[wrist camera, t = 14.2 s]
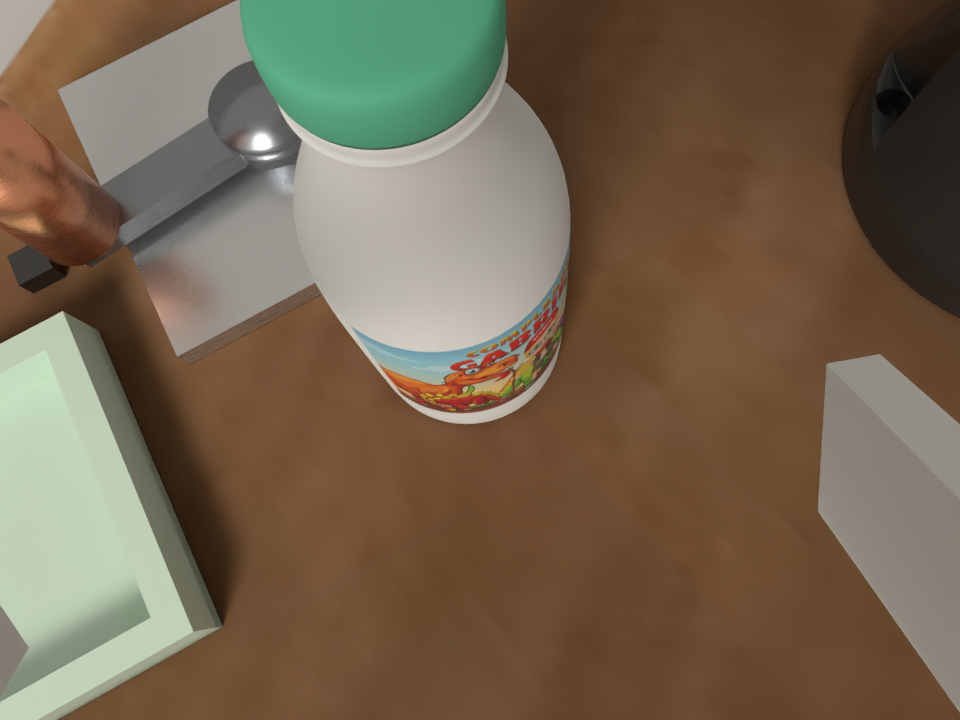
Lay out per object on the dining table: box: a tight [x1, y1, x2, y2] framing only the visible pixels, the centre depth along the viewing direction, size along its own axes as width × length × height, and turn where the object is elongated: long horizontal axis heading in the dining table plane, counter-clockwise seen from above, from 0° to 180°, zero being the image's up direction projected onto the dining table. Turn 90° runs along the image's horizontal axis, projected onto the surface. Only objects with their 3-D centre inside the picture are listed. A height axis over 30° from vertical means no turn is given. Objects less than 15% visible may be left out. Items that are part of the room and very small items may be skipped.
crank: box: [0, 60, 302, 267], centre depth 29 cm, size 13×4×8 cm, turn 125°
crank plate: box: [8, 0, 322, 364], centre depth 34 cm, size 21×15×1 cm
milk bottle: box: [240, 0, 570, 424], centre depth 22 cm, size 8×8×20 cm
